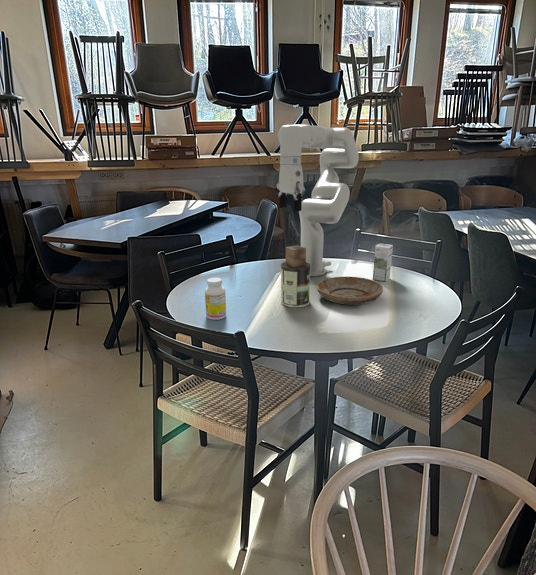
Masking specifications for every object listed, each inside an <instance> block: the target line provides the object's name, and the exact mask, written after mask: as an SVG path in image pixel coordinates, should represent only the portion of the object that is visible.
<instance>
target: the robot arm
mask: <svg viewBox="0 0 536 575" xmlns="http://www.w3.org/2000/svg"><path fill="white" fill-rule="evenodd" d="M277 139H278V143H279V145H280V146H279V148H280V149H279V150H280V151H279V156H280V158H279V164H280V165H279V176H278V183H276V188H277V193H278V195H277V196H278V207H279V208H280V209H281V208H282V209H283V208H287V207H288V197H287V195H292V196H293V199H294V200H293V208H292V209H293V212H298V214H299V220H300V246H301V247H304V248H306V262H307V263H309V264H310V265H311V266H310V277H319V276H323V275H325V274H326V273H327V272H326V268H327V267H329V266H331V265H332V262H331V261H330V260H329V261H325V260H324V259H323V258H324V229H323V227H322V225H321V224H329V225H330V224H333V225H334V224H336V223H338V222H339V220H340V219H341V217H342V216H343V213H344V211H345V209H346V207H347V204H348V203H349V200H350V193H351V192H350V187H349V186H348V185H347V184H346V183H345V182H344V183H343V182H340V177H339V176H338V173H337V172H336V171H335V168H336V169H353V168H356V167H357V165H358V163H359V158H360V156H359V150H358V148H357V143H356V141H355V140H356V139H355V137H354V135H353V132H352V131H351V129H350V128H349V127H338V126H337V127H329V126H320V125H311V124H285V125H282V126H281V127H280V128H279V130H278V132H277ZM302 148H303V149H304V148H305V149H323V150H322V151H321V152H320V154H319V170H320V175H319V176H320V177H319V179H317V182H316V184H315V185H314V187H313V188H312V191H311V197H310V198H305V199H304V198H303V197H304V196H305V192H306V188H305V186H304V174H303V173H304V172H303V166H302ZM320 223H321V224H320Z"/></svg>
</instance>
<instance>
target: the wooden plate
mask: <svg viewBox="0 0 536 575" xmlns="http://www.w3.org/2000/svg"><path fill="white" fill-rule="evenodd" d="M316 291H317V293H318V294H319V295H320V297H323V298H324V299H326V300H328V301H330V302H333V303H337V304H339V305H340V304H341V305H348V306H349V305H351V306H352V305H353V306H356V305H365V304H369V303H372V302H374V301H375V300H377V299H379V297H380V296H381V295H382V294H383V291H384V287H383V285H382V284H381V283H380V282H377V281H376V280H373V279H369V278H366V277H358V276H335V277H329V278H325V279H322V280H321V281H319V282H318V283H317V285H316Z"/></svg>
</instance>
